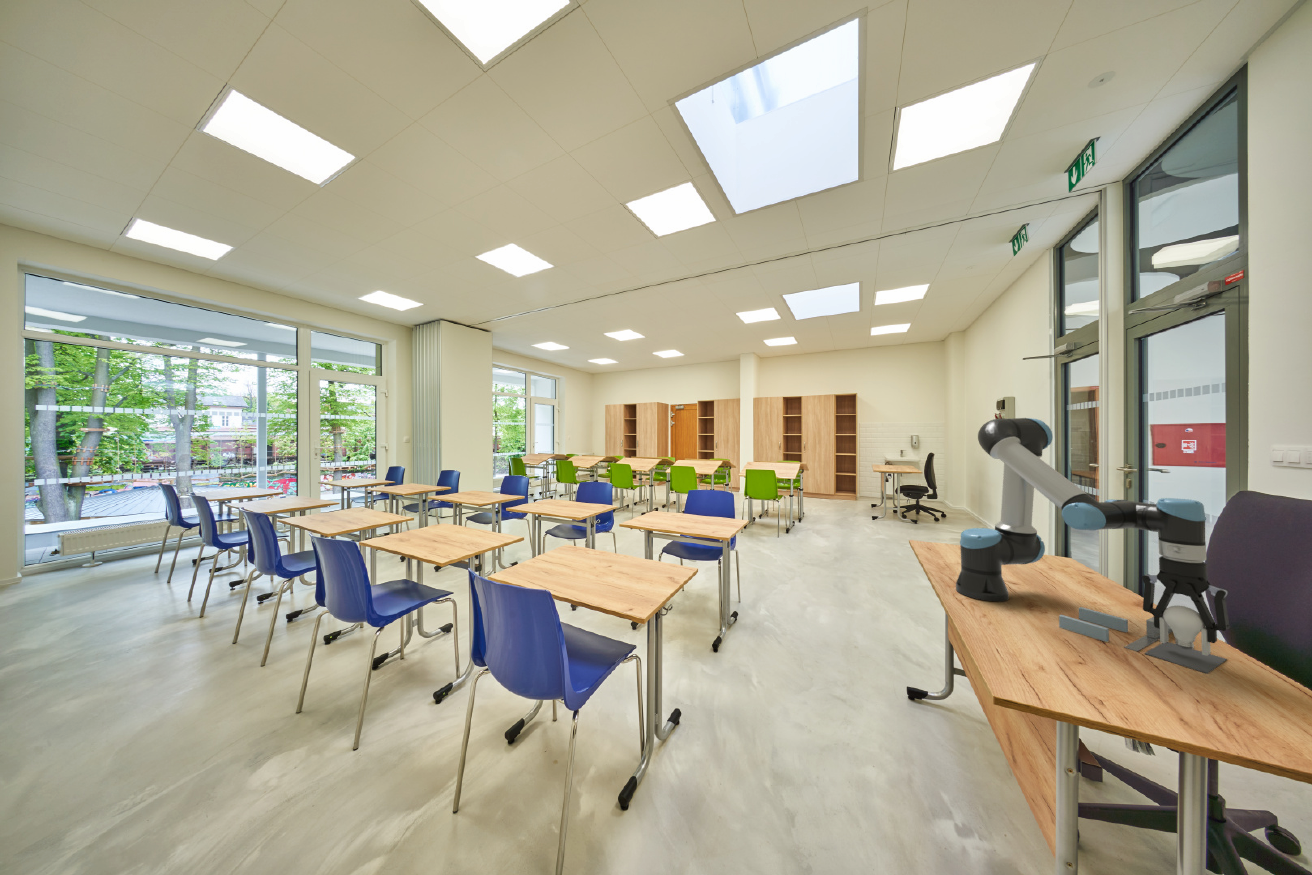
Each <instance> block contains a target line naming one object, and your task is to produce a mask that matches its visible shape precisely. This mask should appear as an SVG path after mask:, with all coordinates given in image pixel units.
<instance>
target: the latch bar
mask: <svg viewBox="0 0 1312 875" xmlns="http://www.w3.org/2000/svg"><path fill="white" fill-rule="evenodd" d="M1145 622H1146V623H1145V624H1146V635H1147V636H1148V637H1151V638H1155V639H1156V638H1158V637H1159V636H1160V629H1159V628H1155V626H1154V616H1151V617H1150V618H1148V619H1146V621H1145ZM1170 630H1172V629H1171V628H1170V626H1169V625H1168V631H1170Z"/></svg>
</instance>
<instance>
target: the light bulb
mask: <svg viewBox="0 0 1312 875" xmlns="http://www.w3.org/2000/svg"><path fill="white" fill-rule="evenodd" d="M1163 617H1164V620H1165V621H1166V623H1167V624H1168V625H1169V626H1170V628H1171V629H1172V631H1173V632H1172V633H1173V636H1174V641H1175V643H1174V644H1176V645H1177V646H1179V647H1181V648H1183V649H1194V650H1195V644H1194V642H1195V641H1196V639H1197V638H1196V637H1197V636H1198V635H1199V634H1200V633H1201V628H1204V627H1205V624H1204V622H1203V620H1202V618H1201V616H1200V614H1199V612H1198V610H1195V609H1194V608H1191V607H1188V606H1185V605H1171V606H1167V608H1166V610H1165V611H1164V613H1163Z"/></svg>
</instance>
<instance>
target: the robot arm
mask: <svg viewBox="0 0 1312 875" xmlns="http://www.w3.org/2000/svg"><path fill="white" fill-rule="evenodd" d="M977 440H978V443H979V445H980V447H981V449H982V450H983V451H984V452H985V453H987V455H989V456H990V457H991V458H992V459H994V460H995V459H996V460H999V461H1002V463H1003V474H1002V475H1003V478H1002V479H1003V480H1002V493H1001V510H1000V521H998V522H996V523H995V524H994V525H995V526H994V529H993V528H987V527H986V528H985V527H982V528H979V527H974V528H966V529H964V530H962V531H961V533H960V541H959V544H960V565H961V566H960V571H959V574H958V577H957V579H956V583H955V590H956V592H958V593H959V594H961V595H964V596H965V597H969V598H971V599H972V598H973V599H977V600H980V599H981V600H980V601H985V602H987V601H989V602H1005V601H1008V600H1009V599H1010V598H1009V593H1010V592H1009V589H1008V587H1007V586H1006V583H1005V580H1004V578H1003V574H1002V566H1006V565H1009V566H1011V565H1028V564H1033V563H1036V562H1039V561H1040V560H1041V559H1042V558H1043V556H1044V554H1045V552H1046V546H1045V543H1044V541H1042V538H1041V536H1040V535H1039V534H1038V530H1037V528H1035V527H1034V526H1033V525H1032V524H1033V523H1032V522H1033V512H1034V511H1033V509H1034V508H1033V507H1034V494H1035V490H1037V492H1039V493H1040V494H1042V495H1043V497H1045V498H1047V499H1048V500H1049V501H1050V502H1052V503H1053V504H1054V505H1055V506H1056V507H1058V508H1059V509H1060V510H1061V516H1062V518H1063V520H1064V523H1065V524H1066V525H1067V526H1069V527H1070V528H1072V529H1074V530H1080V531H1098V530H1099V531H1101V530H1119V529H1120V530H1123V529H1136V530H1143V531H1150V532H1156V533H1157V536H1158V553H1159V555H1161V556H1159V557H1158V564H1159V565H1158V569H1159V570H1158V573H1157V574H1156V575H1155V574H1149V573H1148V574H1144V575H1142V576H1141V579H1142V581H1143V583H1144V587H1143V599H1142V600H1143V601H1142V611H1144V612H1146V613H1149V614H1152V617H1154V626H1155V628H1159V629H1160V639H1159V643H1160V644H1161V643H1166V642H1169V634H1168V624H1167V623H1166V621H1165V620H1164V617H1163V613H1164V611H1165V610H1166V609H1167V608H1168V607H1169V604H1170V602H1171V600H1172V599H1173V596H1174V595H1175V594H1176V595H1183V596H1186V597H1189V598H1190V599H1191V601H1192V602H1193V604H1194V607H1195V608H1196V611H1197V612H1198V613H1199V614H1200V616H1201V618H1202V620H1203V622H1204V624H1205V627H1204V628H1201V632H1200V633H1201V634H1200V635H1201V640H1200V641H1201V652H1202V654H1203V655H1206V656H1207V655H1209V654H1212V652H1211V644H1215V643H1216V642H1217V641H1218V633H1217V632H1218V631H1221V632H1225V631H1227V630H1228V629H1230V621H1229V615H1228V608H1227V601H1226V600H1227V599H1226V598H1227V596H1228V594H1229V590H1228V589H1226V588H1219V587H1216V586H1213V585H1211V583H1210V582H1209V580H1208V571H1207V570H1208V569H1207V568H1208V566H1207V563H1206V562H1205V561H1207V544H1206V542H1207V541H1206V521H1207V517H1206V513H1205V512H1206V511H1205V505H1204V504H1203V503H1202V502H1201V501H1198V500H1195V499H1186V498H1175V497H1174V498H1172V497H1163V498H1162V497H1161V498H1159V499H1158V500H1157V503H1156V504H1155V503H1147V502H1139V501H1130V500H1127V499H1106V500H1105V501H1104V502H1103V501H1102V502H1100V501H1098V500H1096V499H1095V498H1094V497H1092V496H1091V495H1089V493H1087V492H1085V491H1084V490H1083V489H1082V488H1080V487H1079V486H1077V485H1076V484H1075V483H1073V482H1072V481H1070V479H1068V478H1066V477H1065V476H1064V475H1063V474H1061V473H1060V472H1058V471H1057V470H1056V469H1055V468H1054V467H1052V466H1050V465H1049V464H1048V463H1046V462H1045V461H1044V460H1042V459H1041V458H1043V451H1044V450H1045V449H1047V448H1048V447H1049V446H1050V445H1051V444H1052V441H1053V431H1052V430H1051V428H1050V426H1049V425H1048V424H1046V423H1045V421H1043V420H1042V419H1037V418H1030V417H1029V418H1028V417H1017V418H1014V417H1013V418H995V419H992V420H989V421H987V422H985V423H984V424H982V425H981V427H979V430H978V433H977ZM1158 581H1159V582H1160V583H1161V584H1162V586H1164V587H1165V588H1164V590H1163V592H1162V595H1161V597H1160V598H1159V601H1158V603H1157V605H1156V606H1155V607H1154V600H1155V589H1156V588H1155V587H1156V583H1157V582H1158ZM1207 590H1208V591H1210V594H1211V595H1212V597H1213V596H1214V597H1213V602H1214V607H1215V608H1214V609H1215V615H1216V616H1215V617H1216V621H1215V619H1214V617H1213V616H1212V614H1211V612H1210V610H1209V607H1208V605H1207V603H1206V601H1205V598H1204V596H1203V593H1205V592H1206V591H1207Z"/></svg>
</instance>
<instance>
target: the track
mask: <svg viewBox="0 0 1312 875" xmlns="http://www.w3.org/2000/svg"><path fill="white" fill-rule="evenodd" d="M1172 633H1173V631H1172V630H1170V631H1168V635H1169V634H1172ZM1157 641H1160V636H1159V637H1158V638H1156V639H1155V638H1151V637H1148V636H1147V634H1145V635H1144V636H1142V637H1140V638H1138V639H1136V640H1134V641H1132V642H1130V643H1129V644H1127V645H1124V646H1123V648H1124V649H1126V650H1131V651H1134V652H1137V653H1138V652H1139V651H1142V650H1143V649H1145V648H1146V647H1148V646H1150V645H1152V644H1154V643H1156V642H1157Z"/></svg>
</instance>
